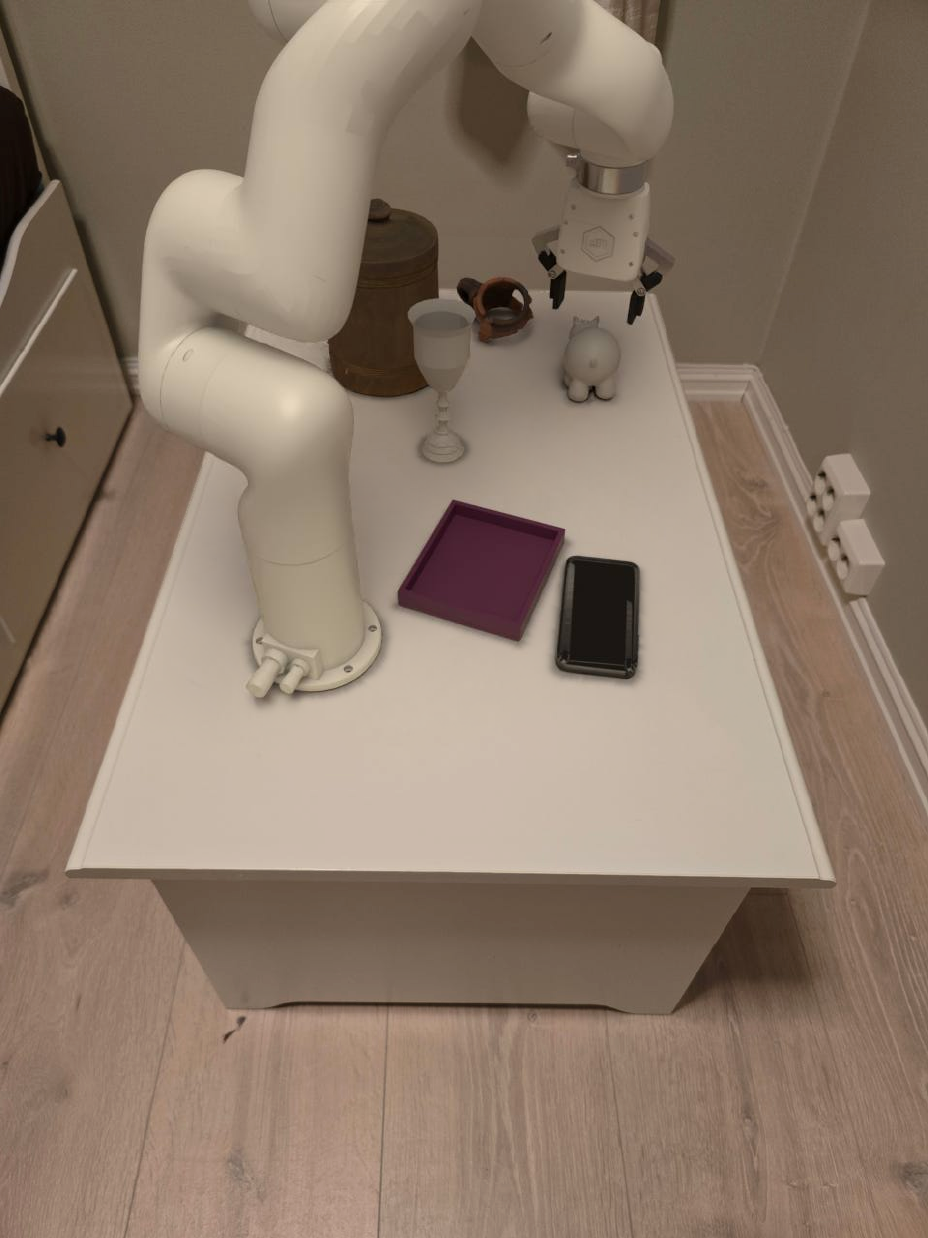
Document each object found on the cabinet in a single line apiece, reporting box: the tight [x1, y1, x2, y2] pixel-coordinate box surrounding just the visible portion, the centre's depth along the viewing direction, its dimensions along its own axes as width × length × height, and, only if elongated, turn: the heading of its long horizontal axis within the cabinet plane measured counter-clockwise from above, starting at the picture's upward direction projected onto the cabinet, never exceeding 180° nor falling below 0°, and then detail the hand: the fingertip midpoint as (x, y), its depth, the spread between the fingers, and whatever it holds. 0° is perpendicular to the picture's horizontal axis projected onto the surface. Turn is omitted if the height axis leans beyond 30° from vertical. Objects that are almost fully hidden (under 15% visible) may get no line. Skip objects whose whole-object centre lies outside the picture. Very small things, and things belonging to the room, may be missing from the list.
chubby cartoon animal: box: [563, 315, 622, 402], centre depth 116 cm, size 7×12×8 cm, turn 4°
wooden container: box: [327, 197, 440, 397], centre depth 113 cm, size 15×15×22 cm
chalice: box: [408, 298, 476, 464], centre depth 102 cm, size 7×7×18 cm
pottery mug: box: [456, 276, 535, 343], centre depth 126 cm, size 12×10×8 cm
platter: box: [397, 499, 566, 642], centre depth 94 cm, size 15×13×2 cm
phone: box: [555, 555, 641, 679], centre depth 91 cm, size 8×1×15 cm
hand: (594, 311), depth 112 cm, fingers open, 9 cm apart
